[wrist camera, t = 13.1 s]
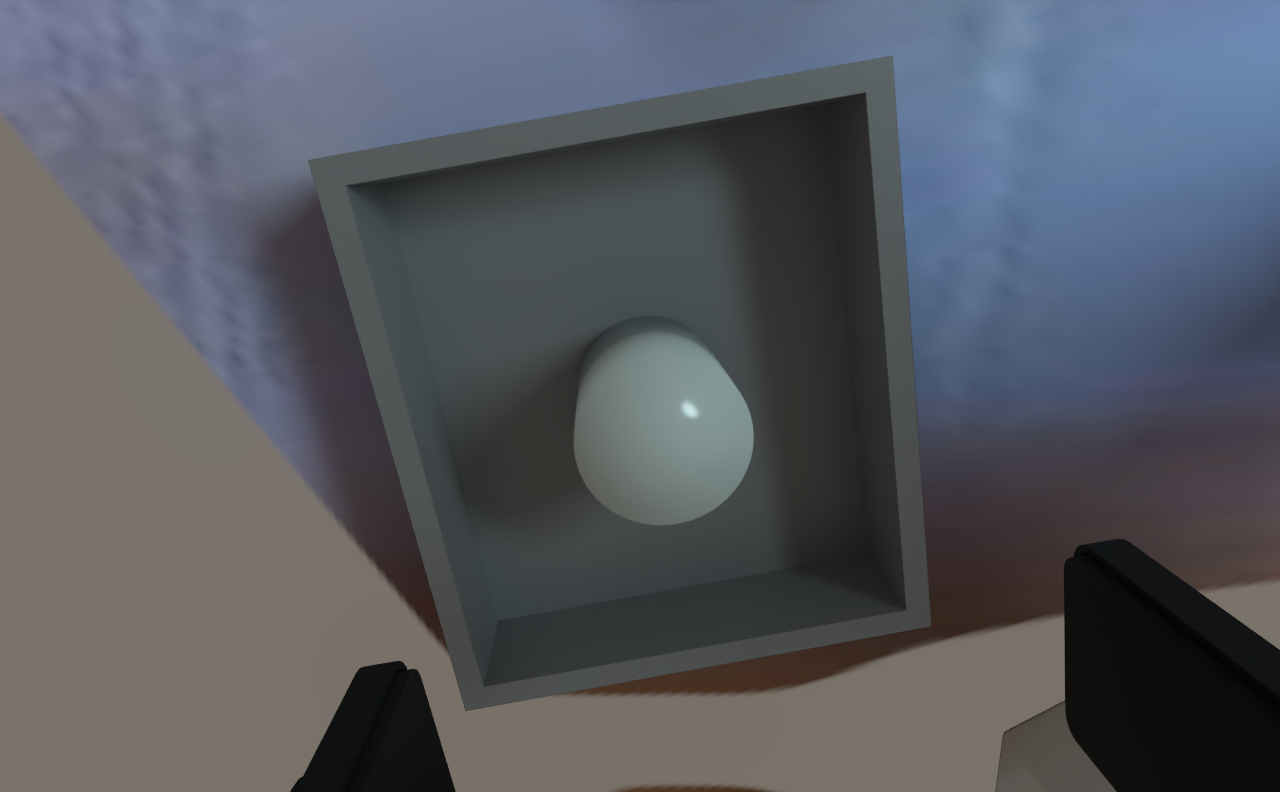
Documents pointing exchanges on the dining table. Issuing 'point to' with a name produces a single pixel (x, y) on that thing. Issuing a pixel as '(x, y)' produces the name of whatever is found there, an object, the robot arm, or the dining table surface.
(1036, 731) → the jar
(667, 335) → the pale green capsule
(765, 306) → the bin
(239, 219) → the dining table surface
